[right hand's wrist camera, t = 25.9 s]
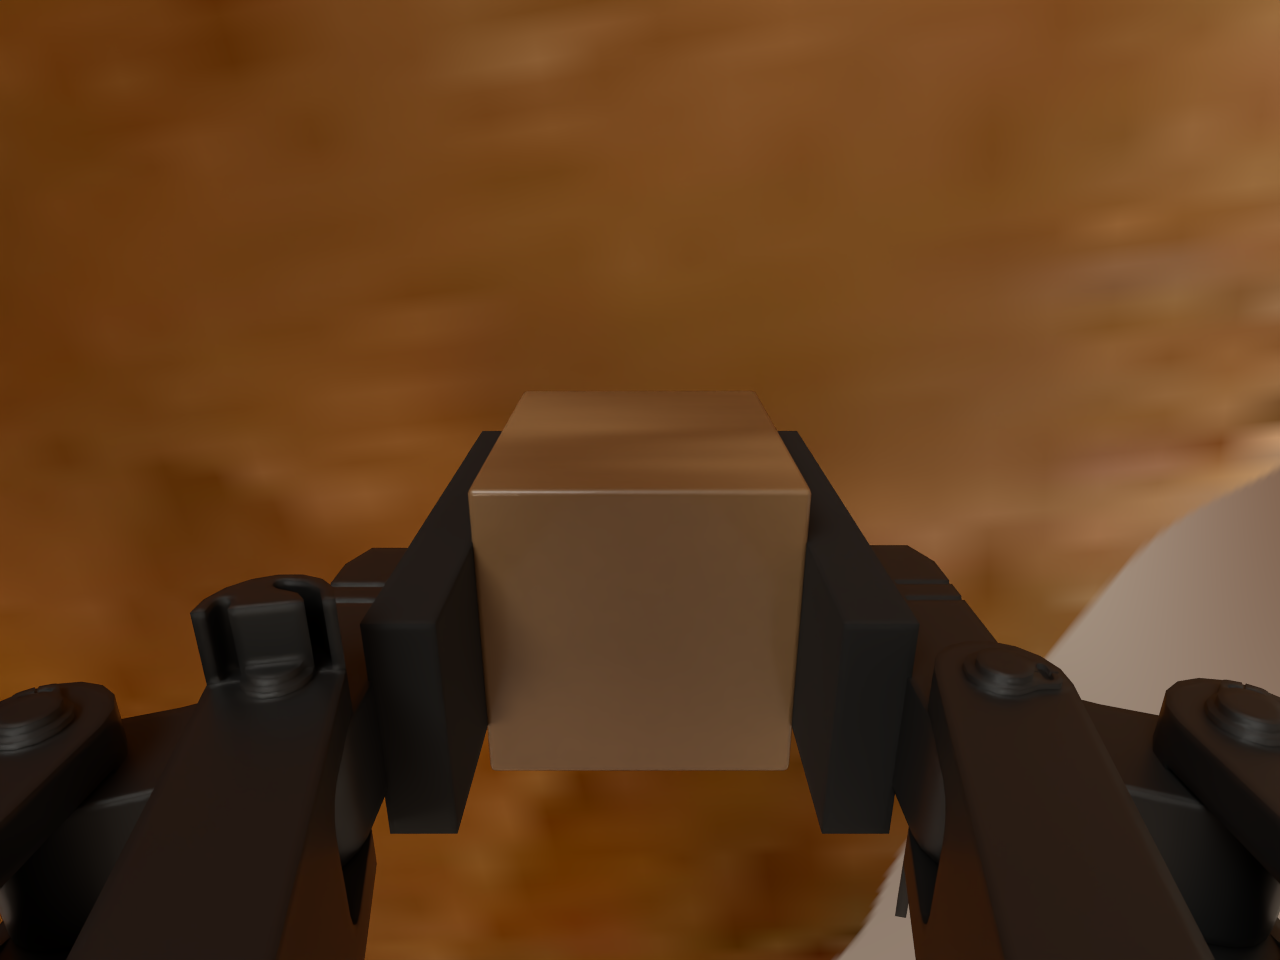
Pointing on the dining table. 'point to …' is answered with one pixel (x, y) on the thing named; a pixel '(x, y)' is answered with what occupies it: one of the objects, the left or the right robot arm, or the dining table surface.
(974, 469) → the dining table surface
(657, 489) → the block
